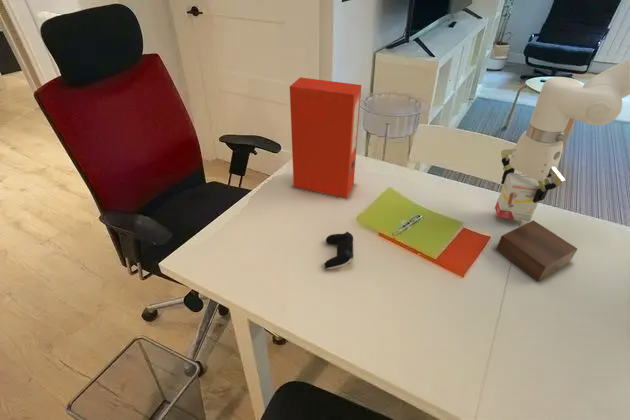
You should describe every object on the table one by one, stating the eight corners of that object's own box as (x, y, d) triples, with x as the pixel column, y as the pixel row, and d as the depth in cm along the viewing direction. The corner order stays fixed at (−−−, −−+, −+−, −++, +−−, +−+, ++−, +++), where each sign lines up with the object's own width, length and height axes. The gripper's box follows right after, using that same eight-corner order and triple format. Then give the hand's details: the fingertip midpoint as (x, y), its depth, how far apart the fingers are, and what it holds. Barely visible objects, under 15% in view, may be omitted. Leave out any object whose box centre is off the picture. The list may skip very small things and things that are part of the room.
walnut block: (526, 234, 100) (533, 220, 96) (569, 263, 91) (578, 248, 88) (495, 249, 95) (501, 235, 92) (537, 281, 87) (545, 267, 84)
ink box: (496, 218, 102) (509, 182, 95) (494, 207, 106) (506, 172, 99) (530, 222, 101) (546, 186, 93) (527, 211, 104) (541, 175, 97)
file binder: (303, 174, 122) (300, 76, 102) (353, 184, 118) (361, 84, 98) (293, 187, 117) (289, 86, 96) (346, 198, 112) (353, 95, 92)
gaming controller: (334, 277, 91) (356, 264, 88) (322, 267, 89) (344, 254, 86) (335, 246, 99) (356, 233, 96) (324, 236, 97) (344, 223, 94)
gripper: (590, 143, 83) (560, 204, 94) (522, 115, 95) (503, 172, 106) (569, 152, 81) (541, 213, 91) (502, 122, 92) (484, 180, 103)
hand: (520, 191), depth 98 cm, fingers closed on ink box, 9 cm apart
